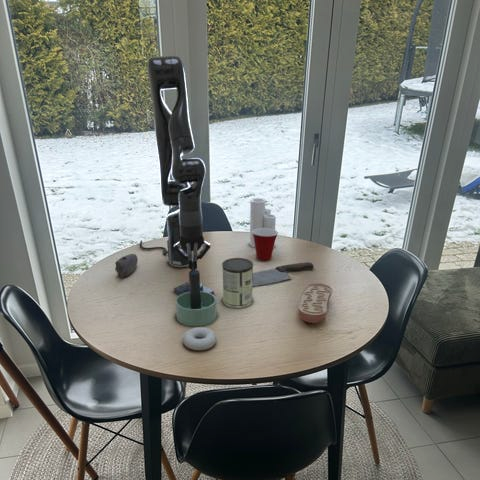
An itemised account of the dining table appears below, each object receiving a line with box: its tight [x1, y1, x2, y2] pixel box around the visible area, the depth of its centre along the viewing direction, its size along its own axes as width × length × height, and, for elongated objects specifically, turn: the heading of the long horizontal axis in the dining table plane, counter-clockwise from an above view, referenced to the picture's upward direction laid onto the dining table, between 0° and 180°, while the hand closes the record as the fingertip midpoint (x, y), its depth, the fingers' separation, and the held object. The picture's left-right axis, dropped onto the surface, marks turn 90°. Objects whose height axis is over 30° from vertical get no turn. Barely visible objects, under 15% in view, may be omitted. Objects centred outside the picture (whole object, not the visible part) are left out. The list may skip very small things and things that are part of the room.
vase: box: [249, 197, 277, 248], centre depth 205 cm, size 11×7×20 cm, turn 77°
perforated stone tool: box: [115, 253, 139, 278], centre depth 182 cm, size 15×5×7 cm, turn 163°
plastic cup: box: [252, 228, 279, 262], centre depth 194 cm, size 11×11×12 cm
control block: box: [173, 281, 215, 296], centre depth 167 cm, size 12×8×4 cm
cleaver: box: [252, 261, 314, 287], centre depth 181 cm, size 30×10×2 cm, turn 116°
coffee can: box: [221, 257, 254, 309], centre depth 160 cm, size 10×10×14 cm
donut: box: [182, 326, 217, 351], centre depth 139 cm, size 10×4×10 cm
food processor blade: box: [185, 269, 203, 309], centre depth 150 cm, size 8×8×15 cm
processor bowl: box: [174, 291, 218, 327], centre depth 153 cm, size 13×13×6 cm
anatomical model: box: [297, 282, 333, 324], centre depth 157 cm, size 23×10×5 cm, turn 164°
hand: (193, 269), depth 164 cm, fingers closed
